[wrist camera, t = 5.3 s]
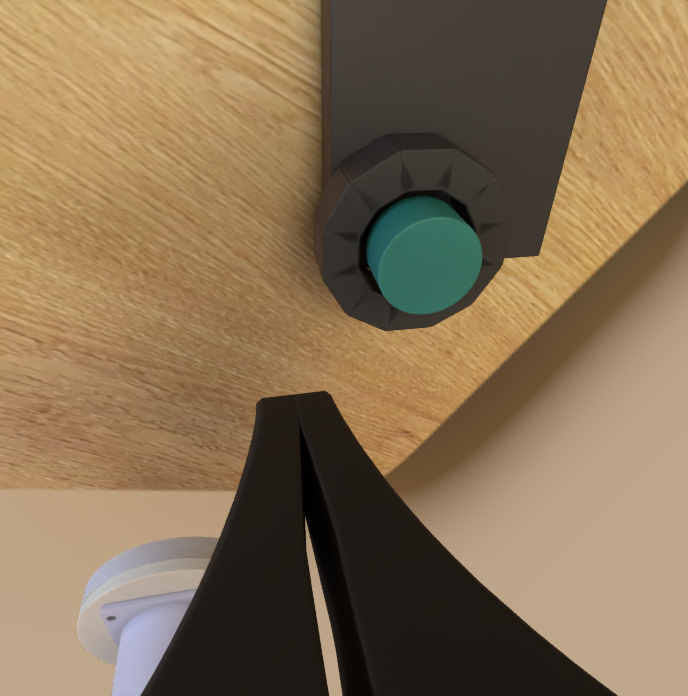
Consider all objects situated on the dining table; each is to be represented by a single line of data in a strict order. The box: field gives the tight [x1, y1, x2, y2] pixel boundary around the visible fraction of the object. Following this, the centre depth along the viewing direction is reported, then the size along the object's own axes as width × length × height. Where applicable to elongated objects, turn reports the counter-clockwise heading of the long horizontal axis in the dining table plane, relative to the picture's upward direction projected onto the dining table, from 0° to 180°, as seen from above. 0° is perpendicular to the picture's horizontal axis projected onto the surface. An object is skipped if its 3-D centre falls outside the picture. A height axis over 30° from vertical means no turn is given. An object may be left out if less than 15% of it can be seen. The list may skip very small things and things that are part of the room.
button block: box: [314, 0, 607, 331], centre depth 16 cm, size 10×8×4 cm
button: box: [366, 196, 482, 314], centre depth 16 cm, size 3×3×2 cm
